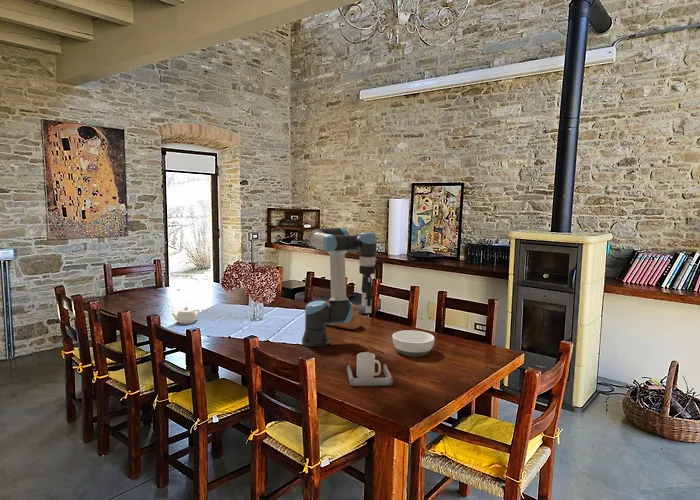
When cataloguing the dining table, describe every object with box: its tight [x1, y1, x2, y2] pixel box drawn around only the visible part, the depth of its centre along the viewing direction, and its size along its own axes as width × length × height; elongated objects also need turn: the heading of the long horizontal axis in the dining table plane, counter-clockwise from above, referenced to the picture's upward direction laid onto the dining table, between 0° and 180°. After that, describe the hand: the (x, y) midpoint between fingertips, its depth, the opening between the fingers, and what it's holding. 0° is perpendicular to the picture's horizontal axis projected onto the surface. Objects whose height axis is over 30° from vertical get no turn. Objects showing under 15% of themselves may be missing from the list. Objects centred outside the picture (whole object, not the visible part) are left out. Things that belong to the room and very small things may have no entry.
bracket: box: [346, 364, 394, 387], centre depth 209 cm, size 18×17×3 cm
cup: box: [356, 351, 382, 378], centre depth 209 cm, size 8×12×10 cm
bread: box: [326, 301, 362, 330], centre depth 295 cm, size 14×26×15 cm, turn 58°
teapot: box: [171, 306, 200, 325], centre depth 294 cm, size 20×12×10 cm, turn 142°
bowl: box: [392, 329, 435, 358], centre depth 247 cm, size 22×22×8 cm
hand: (366, 309), depth 219 cm, fingers open, 13 cm apart
